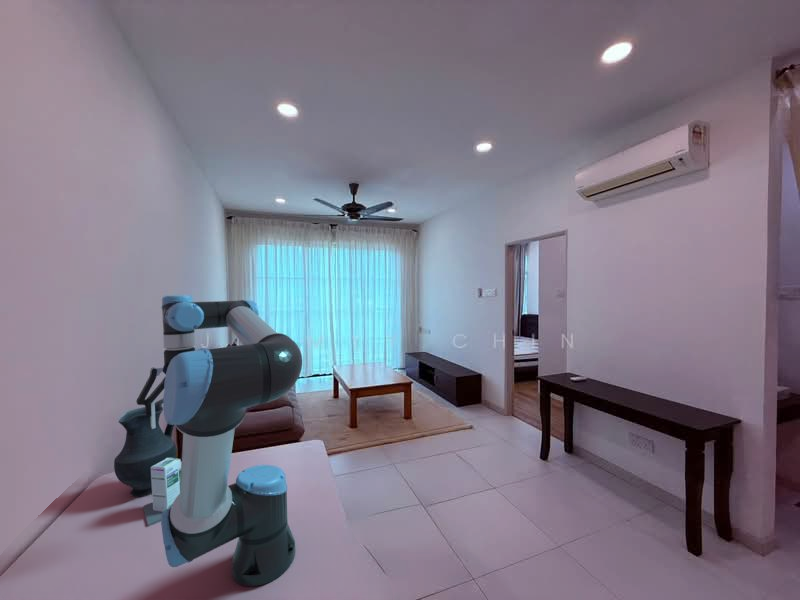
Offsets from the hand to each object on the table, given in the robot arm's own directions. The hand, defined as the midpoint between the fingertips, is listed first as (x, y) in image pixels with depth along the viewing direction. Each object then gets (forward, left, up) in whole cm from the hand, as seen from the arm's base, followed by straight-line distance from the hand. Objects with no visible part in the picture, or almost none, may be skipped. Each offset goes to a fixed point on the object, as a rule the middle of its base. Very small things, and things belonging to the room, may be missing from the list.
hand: (182, 419), depth 92 cm
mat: (+16, +2, -33) cm, 36 cm away
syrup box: (+16, +2, -32) cm, 36 cm away
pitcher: (+35, +4, -33) cm, 48 cm away
